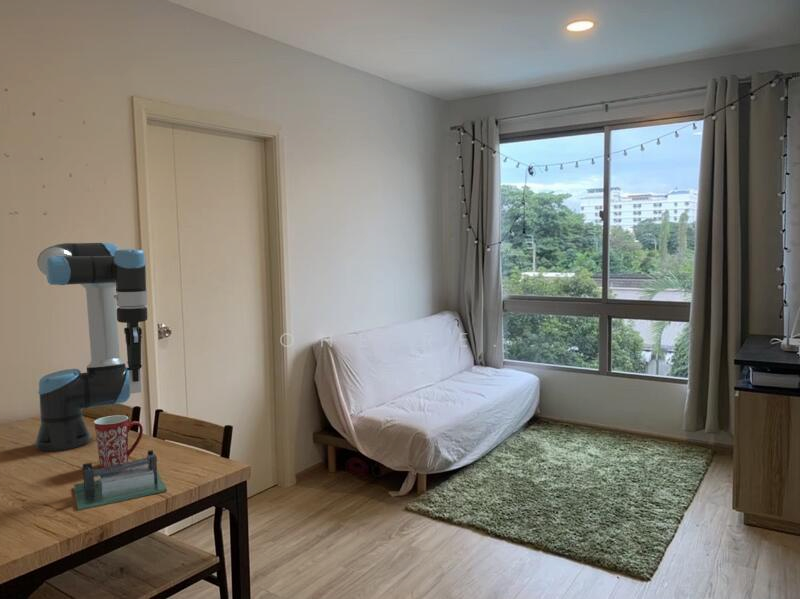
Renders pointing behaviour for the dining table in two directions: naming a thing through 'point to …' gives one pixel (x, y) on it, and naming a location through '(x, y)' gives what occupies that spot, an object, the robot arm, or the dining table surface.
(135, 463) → the strap
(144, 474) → the heatsink assembly
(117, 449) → the mug
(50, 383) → the robot arm
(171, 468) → the dining table surface
